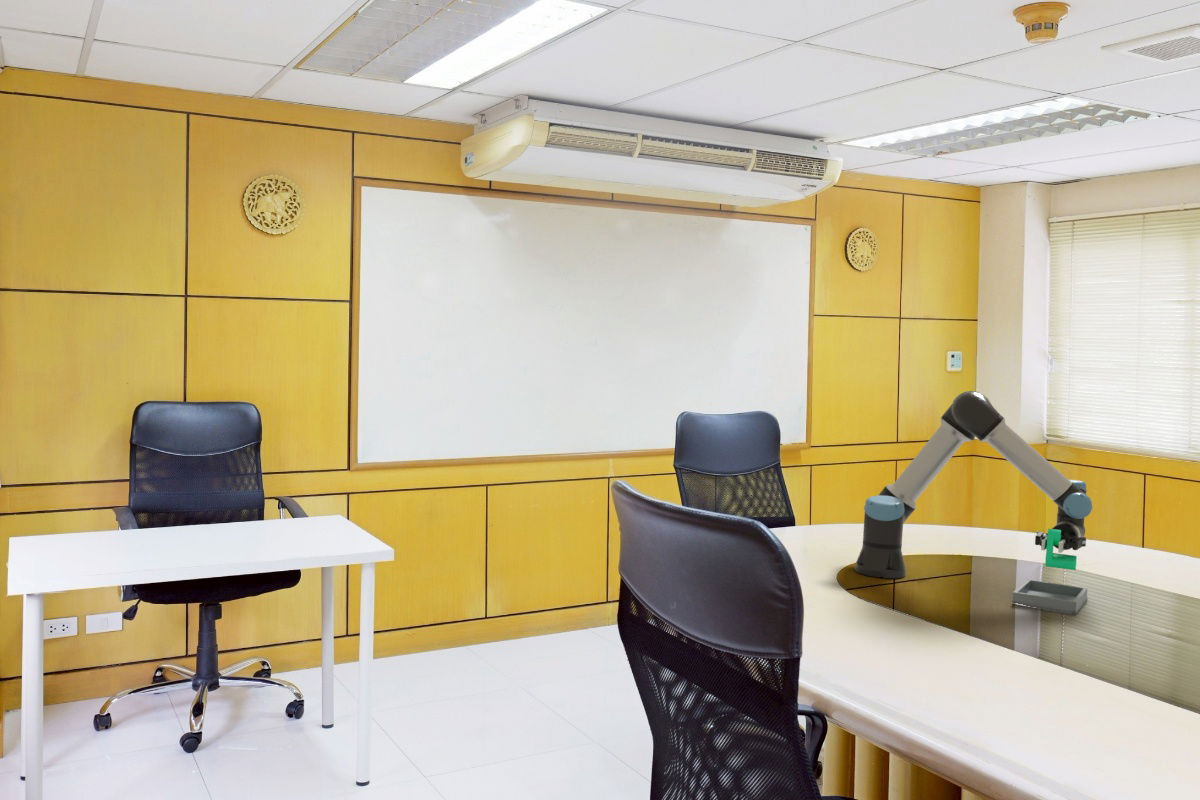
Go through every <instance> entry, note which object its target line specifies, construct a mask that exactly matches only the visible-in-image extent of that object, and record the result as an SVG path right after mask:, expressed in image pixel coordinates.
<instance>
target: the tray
mask: <svg viewBox="0 0 1200 800" xmlns="http://www.w3.org/2000/svg"><path fill="white" fill-rule="evenodd" d="M1087 600H1088V588H1086V587H1080V586H1074V585H1068V584H1061V583H1056V582H1049V581H1048V582H1047V581H1042V580H1036V579H1029V578H1027V579H1026V580H1025V581H1024V582H1022V584H1021V585H1019V586H1018V587H1017V588H1016V589H1015V590H1014V591H1012V600H1011V603H1012V602H1013V603H1018V604H1023V605H1026V606H1030V607H1036V608H1039V609H1038V610H1041V609H1043V610H1042V611H1046V612H1048V611H1049V612H1054V613H1060V614H1065V615H1072V616H1076V615H1077V614H1078V613H1079V611H1080V610H1081V609H1082V607H1084V605H1085V603H1087ZM1077 612H1078V613H1077Z"/></svg>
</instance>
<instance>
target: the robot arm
mask: <svg viewBox="0 0 1200 800" xmlns="http://www.w3.org/2000/svg"><path fill="white" fill-rule="evenodd" d="M975 437H976V438H977V439H978V440H979V441H980V442H981V443H983V442H985V443H987V444H989V446H991V447H992V448H993V449H994V450H995V451H996V452H998V453H999V454H1000V455H1001V457H1003V458H1004V459H1005V460H1006V461H1008V462H1009V463H1010V464H1011V465H1012V466H1013V467H1014V468H1016V469H1017V470H1018V471H1019V472H1020V473H1021V474H1022V475H1024V477H1026V478H1027V479H1028V480H1029V481H1030V482H1031V483H1033V484H1034V486H1036V487H1037V488H1038V489H1039V490H1040V491H1042V492H1043V493H1044V494H1045V495H1046V496H1047V497H1048V498H1050V500H1052V501H1053V502H1054V503H1055V504H1056V505H1057V513H1056V525H1054V526H1053V527H1052V528H1051V529H1056V530H1061V539H1060V542H1059V546H1058V545H1053V548H1056V549H1057V551H1058V554H1063V552H1064V551H1069V550H1071V549H1072V550H1073V551H1078V550H1079V549H1080V548H1082V547H1086V546H1087V545H1086V544H1087V537H1085V534H1086V527H1085V518H1086V517H1088V516H1089V515H1090V514H1091V513H1092V511H1093V502H1092V498H1091V497H1090V496H1089V495H1087V492H1088V490H1087V483H1086V482H1085V481H1082V480H1078V479H1069V478H1067V477H1066V476H1065V475H1064V474H1063V473H1062V472H1060V471H1059V469H1057V468H1056V467H1055V466H1054V465H1053V464H1052V463H1051V462H1049V461H1048V460H1047V459H1046V458H1045V457H1044V456H1042V455H1041V454H1040V452H1038V451H1037V450H1036V449H1035V448H1034V447H1033V446H1031V444H1029V443H1028V442H1026V440H1025V439H1024V438H1022V437H1021V436H1020V435H1019V434H1018V433H1017V432H1016V431H1014V430H1013V429H1012V428H1011V427H1010V426H1009V425H1007V423H1006V419H1005V417H1004V416H1003V415H1001V413H999V411H998V410H997V409H996V408H995V407H994V406H993V404H992V403H991V401H990V400H989V398H988V397H987V396H985V394H982V393H981V392H979V391H974V390H968V391H964V392H961V393H959V394H958V395H957V396H956V397H955V398H954V400H953V401H952V403H951V405H949V407H948V408H947V410H945V412H944V413H943V415H942V416H941V417H940V425H939V428H937V429H936V431H935V432H934V434H933V435H932V436H931V437H930V438H929V440H928V441H927V442H926V443H925V444H924V446H923V447H922V448H921V449H920V451H918V453H917V455H916V456H915V457H914V458H913V460H912V461H910V463H909V464H908V465H907V467H906V468H905V469H904V470H903V472H902V473H900V475H899V476H898V477H897V479H896V480H895V481H894V483H891V484H886V485H885V486H884V487H883V488H882V490H881V491H880V492H879V493H878V494H877V495H873V496H872V495H871V496H869V497H868V498H867V499H866V500H865V503H864V504H865V505H864V506H863V507H864V508H863V509H864V516H863V517H864V520H863V521H864V522H863V532H862V533H863V536H862V548H861V549H860V552H859V555H858V557H857V560H856V563H855V567H854V571H855V572H856V573H858V574H860V575H863V576H867V577H873V578H880V577H883V579H901V578H904V577H906V575H907V567H906V563H905V558H904V556H903V551H902V544H903V528H904V524H905V522H906V521H907V520H908V518H910V516H911V515H912V514H913V513H914V512H915V510H916V509H917V503H916V501H917V500H918V498H919V497H920V496H921V495H922V494H923V492H924V491H925V490H926V489H927V488H928V487H929V486H930V484H931V482H932V481H934V480H935V478H936V477H937V475H938V474H939V473H940V472H941V470H943V469H944V467H945V466H946V465H947V463H948V462H949V461H950V460H951V458H952V457H953V456H954V455H955V453H957V451H958V450H959V449H960V447H961V446H962V445H963V443H966V442H972V441H973V439H974V438H975ZM1047 536H1048V532H1047V533H1046V534H1045V533H1044V532H1042V531H1040V530H1039V531H1036V535H1035V540H1034V545H1036V546H1041V549H1040V550H1041V551H1045V550H1046V548H1047Z"/></svg>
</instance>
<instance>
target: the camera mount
mask: <svg viewBox="0 0 1200 800" xmlns="http://www.w3.org/2000/svg"><path fill="white" fill-rule="evenodd" d="M1047 533H1048V536H1047V548H1046V549H1045V550H1046V551H1045V562H1044V563H1045V564H1044V565H1045V566H1044V567H1047V568H1048V567H1049V568H1055V569H1061V570H1071V571H1076V570H1077V555H1074V554H1073V555H1071V554H1064V553H1057V552H1054V546H1053V545H1058V546H1059V542H1060V539H1061V530H1056V529H1052V528H1048V529H1047Z"/></svg>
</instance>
